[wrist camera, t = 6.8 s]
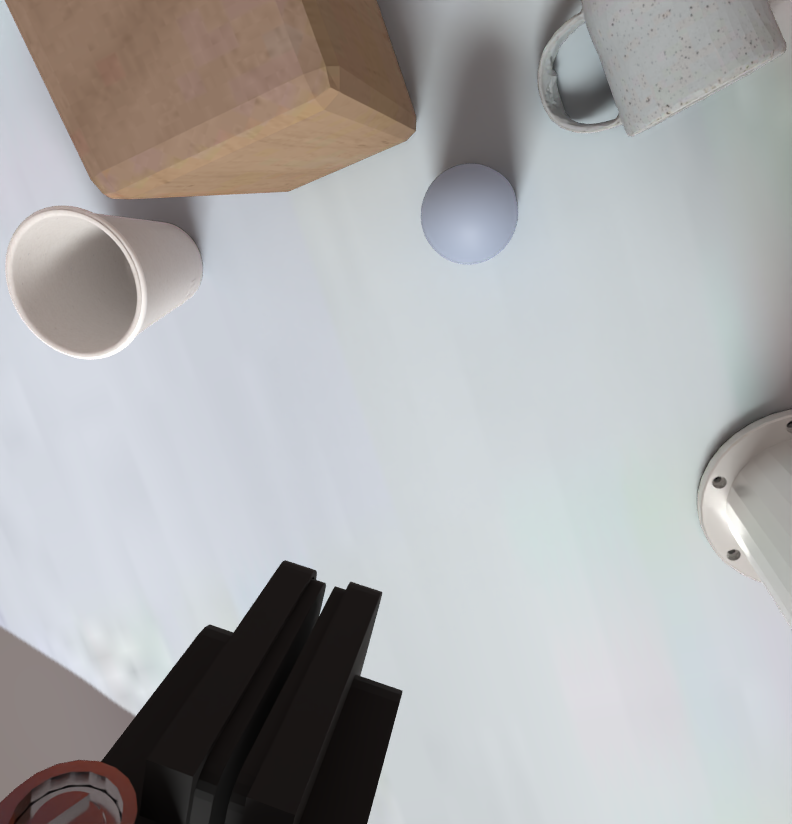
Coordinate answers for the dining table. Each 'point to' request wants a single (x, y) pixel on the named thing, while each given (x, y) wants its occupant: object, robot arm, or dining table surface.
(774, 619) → the dining table surface
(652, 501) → the dining table surface
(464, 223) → the bluegrey post
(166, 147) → the block
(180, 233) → the dixie cup
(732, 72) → the ceramic mug
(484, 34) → the dining table surface
